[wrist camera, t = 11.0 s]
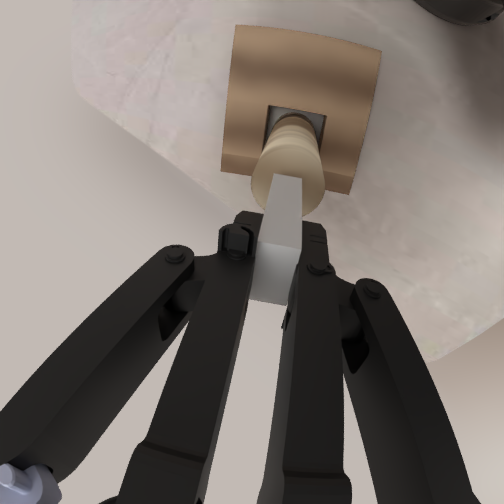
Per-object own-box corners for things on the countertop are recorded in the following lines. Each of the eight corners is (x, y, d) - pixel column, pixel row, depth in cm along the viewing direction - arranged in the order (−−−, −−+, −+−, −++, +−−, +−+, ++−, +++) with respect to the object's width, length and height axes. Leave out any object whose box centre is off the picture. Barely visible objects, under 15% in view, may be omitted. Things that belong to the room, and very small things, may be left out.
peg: (276, 108, 29) (255, 143, 16) (317, 116, 28) (333, 158, 16) (270, 146, 31) (246, 212, 19) (310, 154, 31) (316, 225, 18)
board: (241, 28, 24) (235, 24, 21) (374, 52, 23) (381, 51, 21) (227, 162, 33) (220, 171, 31) (345, 184, 32) (348, 195, 30)
